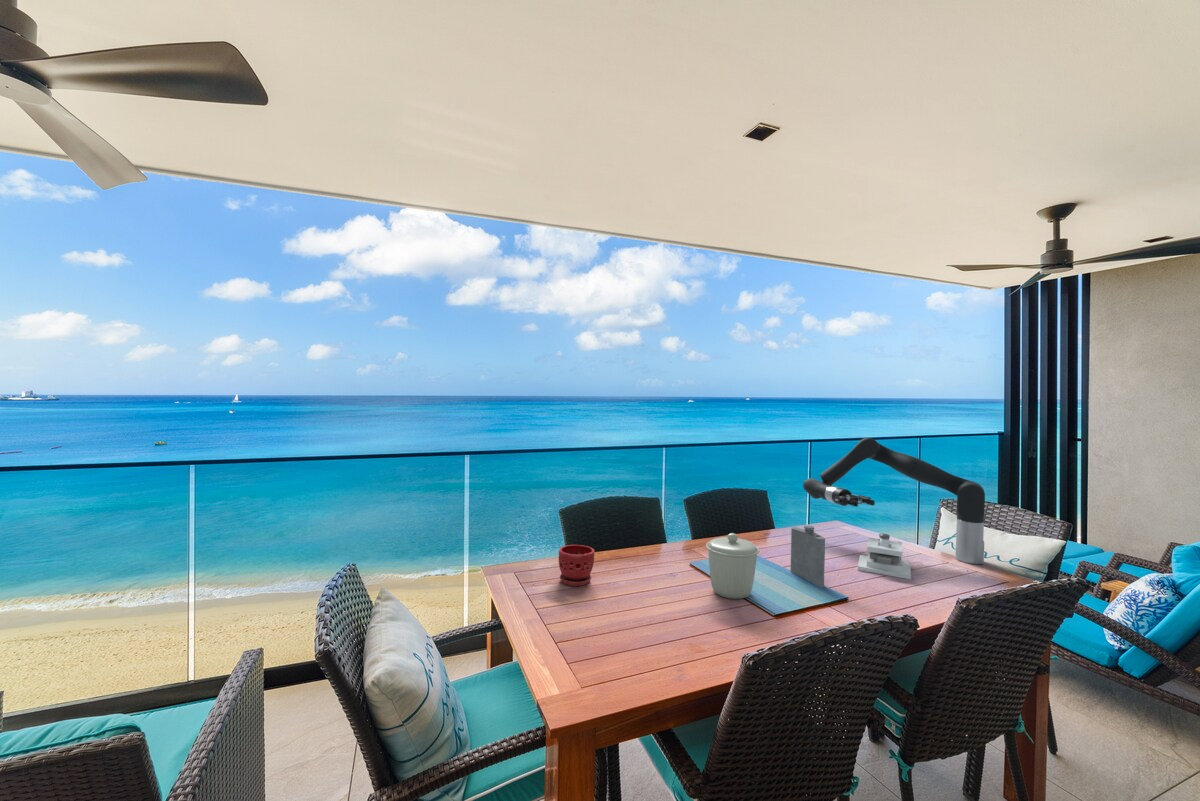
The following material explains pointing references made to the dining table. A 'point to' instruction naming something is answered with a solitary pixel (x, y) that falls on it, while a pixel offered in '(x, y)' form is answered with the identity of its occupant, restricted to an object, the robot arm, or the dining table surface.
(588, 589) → the dining table surface
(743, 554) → the canister
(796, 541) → the hip flask
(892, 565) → the clevis bracket
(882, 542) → the clevis pin
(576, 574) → the plant pot
